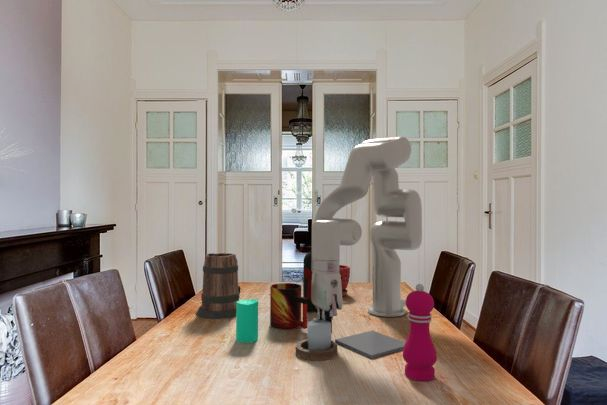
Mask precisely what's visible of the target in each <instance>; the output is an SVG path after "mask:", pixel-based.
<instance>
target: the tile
mask: <svg viewBox="0 0 607 405" xmlns="http://www.w3.org/2000/svg"><path fill="white" fill-rule="evenodd" d="M334 342H335V343H336V344H337V345H340V346H342V347H344V348H346V349H348V350H351V351H353V352H355V353H358V354H360V355H362V356H365V357H367V358H369V359H371V360H372V359H375V358H379V357H383V356H385V355H386V356H387V355H389V354H393V353H396V352H399V351H403V348H404V345H405V343H406V341H403V340H400V339H398V338H394V337H392V336H389V335H386V334H383V333H380V332H378V331H376V330H370V331H365V332H359V333H356V334H351V335H348V336H344V337H339V338H336V339H334Z"/></svg>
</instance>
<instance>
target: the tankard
mask: <svg viewBox="0 0 607 405" xmlns="http://www.w3.org/2000/svg"><path fill="white" fill-rule="evenodd" d="M236 255H237V254H236V253H228V252H227V253H226V252H221V253H213V252H212V253H206V254H205V257H204V264H203V266H202V277H203V278H202V291H201V292H202V293H201V295H200V296H201V297H200V298H201V299H200V300H201V305H200V306H199V307H198V309H197V311H195V313H194V315H195V316H196V317H198V318H200V319H206V320H226V319H227V320H228V319H233V318H236V301H239V300H240V294H241V286H240V285H239V265H238V259H237V256H236Z"/></svg>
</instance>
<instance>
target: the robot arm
mask: <svg viewBox="0 0 607 405" xmlns="http://www.w3.org/2000/svg"><path fill="white" fill-rule="evenodd" d="M411 153H412V145H411V143H410V140H409V139H408V138H407V137H406V136H392V137H390V136H389V137H380V138H371V139H367V140H364V141H362V142H361V143H360V144H358V145H356V146H353V148H352V149H351V151H350V152H349V156H348V159H347V162H346V164H345V165H346V166H345V167H344V168H345V169H344V171H343V175H342V177H341V180H340V184H339V185H338V186H337V187H336V188H335V189H333V190H332V191H331V192H330V193H329V194H328V195H327V196H326V197H325V198H324V199H323V200H322V202H321V203H320V204H319V207H318V208H317V210H316V213H315V216H314V220H313V222H312V224H311V225H312V226H311V228H312V272H313V273H312V285H311V300H312V303H313V304H314V305H315V308H316V309H317V311H318V312H317V318H318V319H319V320H324V321H329V322H331V335H332V334H333V328H332V327H333V319H334V317H337V316H338V311H339V310H342V309H343V296H342V285H341V276H340V273H339V265H340V249H341V248H340V246H348V247H349V246H354V245H356V244H357V243H358V242H359V241H360V239H361V238H362V235H363V234H362V232H363V230H362V226H361V225H360V223H359V222H358V221H356V220H355V219H351V218H336V217H335V218H334V216H335V215H336V213H338V211H340V210H341V209H342V208H344V207H346V206H348V205H351V204H353V203H355V202H357V201H359V200H361V199H363V198H365V197H366V196H367V194H368V192H369V187H370V184H371V181H372V182H373V183H372V184H373V207H374V212H375V214H376V215H377V216H378V217H383V218H384V217H385V218H403V219H404V221H397V220H393V221H392V220H380V221H377V222H375V223H374V224H372V225H371V227H370V230H369V236H370V238H369V239H370V243H371V244H370V245H371V250H372V252H371V253H372V305H371V306H368V307H367V312H368V313H369V314H370V315H373V316H376V317H377V316H378V317H383V318H396V317H397V318H398V317H402V316H404V315H405V314H406V309H405V307H406V299H404V298H402V296H401V295H402V294H401V290H402V289H401V288H402V287H401V286H402V285H401V284H402V279H401V276H402V267H401V266H402V262H401V259H400V257H399V255H398V253H397V251H396V250H398V251H399V250H402V251H415V250H416V251H417V250H418V249H419V248H420V247H421V245H422V240H423V227H422V226H423V222H422V221H423V214H422V213H423V211H422V210H423V208H422V200H421V196H420V194H419V193H418V192H417V191H416V190H414V189H411V188H408V189H407V188H405V189H404V188H403V189H401V188H400V185H399V174H398V171H397V170H396V168H398V167H400V166H402V165H403V164H405V163H406V162H408V160H409V159H410V157H411V155H412V154H411ZM372 179H373V180H372ZM337 310H338V311H337Z"/></svg>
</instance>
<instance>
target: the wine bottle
mask: <svg viewBox="0 0 607 405" xmlns="http://www.w3.org/2000/svg"><path fill="white" fill-rule="evenodd" d="M310 237H311V238H310V251H308V252H307V253H306V254H305V256H304V257H303V270H302V271H303V275H302V276H303V277H302V279H303V281H302V282H303V284H302V297H304V298H307V313H318V311H317V309H316V308H315V305H314V304H313V303H312V300H311V285H312V273H313V272H312V224H311V228H310Z"/></svg>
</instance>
